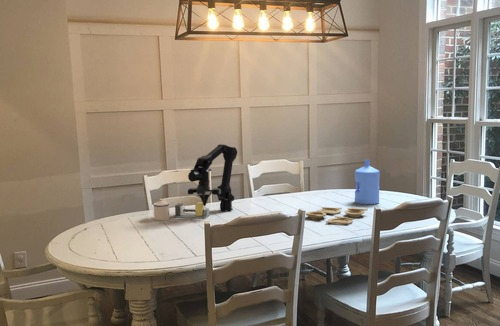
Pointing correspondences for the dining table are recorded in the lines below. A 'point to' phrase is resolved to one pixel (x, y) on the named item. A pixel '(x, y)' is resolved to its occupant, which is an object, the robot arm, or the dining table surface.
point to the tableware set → (338, 220)
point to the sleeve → (199, 209)
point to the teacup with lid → (161, 210)
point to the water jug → (367, 184)
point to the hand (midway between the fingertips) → (204, 205)
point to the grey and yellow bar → (181, 211)
